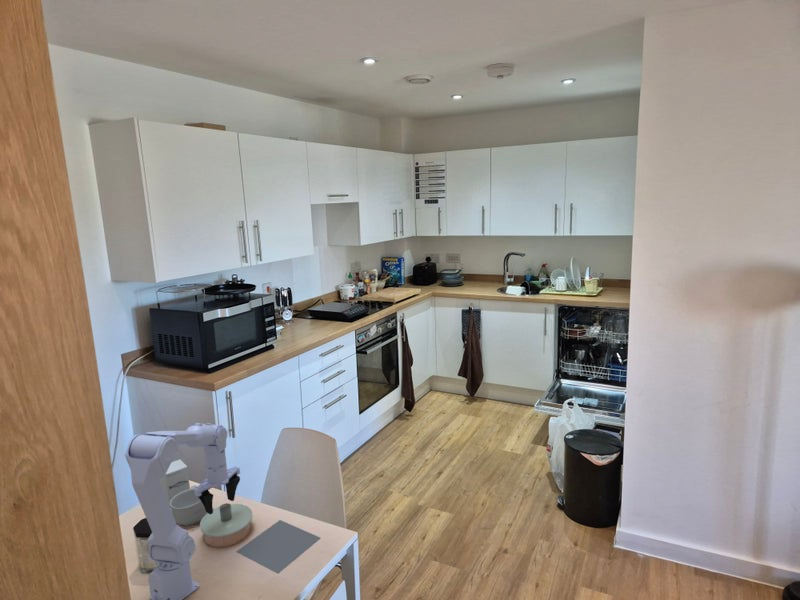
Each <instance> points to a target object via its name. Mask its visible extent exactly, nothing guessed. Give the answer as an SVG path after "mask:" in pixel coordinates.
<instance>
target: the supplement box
mask: <svg viewBox="0 0 800 600" xmlns="http://www.w3.org/2000/svg"><path fill="white" fill-rule="evenodd" d="M159 480H160V483H161V485H162V488H163V491H164V493H165V496H166V498H167V501H168V503H169V506H170V501H171V499H172V498H173V497H174V496H175V495H177V494H178V493H180V492H182V491H185V490H188V489H191V486H190V478H189V470H188V466H187V464H186V463H185V462H184V461H183V460H182V459H177V460H174V461H172V462H171V464H170V466H169V468H168V470H167V472H166V474H165V476H163V477H162V478H160V479H159ZM170 508H171V507H170Z"/></svg>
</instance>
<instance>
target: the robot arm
mask: <svg viewBox="0 0 800 600" xmlns="http://www.w3.org/2000/svg"><path fill="white" fill-rule="evenodd" d="M227 438H228V430H227V428H226V427H225V426H224V425H222V424H221V425H220V424H212V423H210V422H209V423H208V422H207V423H202V422H201V423H200V422H194V425H191V426H189V427H188V428H186V430H159V431H148V432H144V434H143V433H138V434H135V435H134V436H133V437H132V438H131V439H130V440H129V442H128V445H127V448H126V451H125V454H124V457H125V460H126V462H127V464H128V467H129V469H130V475H131V477H130V478H131V483H132V488H133V490H134V492H135V494H136V497H137V499H138V502H139V504H140V506H141V509H142V512H143V514H144V516H145V519H146V521H147V523H148V526H149V528H150V530H151V534H150V536H148V539H147V541H146V543H147V545H148V556H149V558H150V560H153V561H154V562H155V565H157V566H156V567H155V568H154V569H153V570H152V571H151V572H150V573H149V574H148V579H147V580H148V586H149V593H150V596H149V600H184V599H185V598H186V597H188V596H189V595H191V594H192V593H193V592H195V591H196V590H198V589H199V588H200V583H198V582H196V581H195V580H193V579H192V571H191V562H190V560H191V559H192V557H193V555H194V552H195V549H196V543H195V539H194V537H192V536H190V534H189V532H188V531H187V530H186V529H184V528H183V527H181V526H179V524H178V523H177V522H176V521H175V519H174V516H173V513H172V511H171V508H170V506H169V503H168V501H167V498H166V496H165V493H164V491H163V488H162V485H161V483H160V478H162V477H163V476H165V474H166V472H167V470H168V468H169V466H170V464H171V462H173V460H174V457H175V456H176V453H177V452H178V451H179V446H180V445H184V444H185V445H186V446H188V447H190V448H198V447H199V448H200V447H203V456H204V465H205V466H204V467H205V473H206V474H205V475H206V478H205V479H204V480H203V481H202V482H201V483H200V484H199V485H196V488H194V495H196V496H198V498H199V499H200V500H201V502H202V503H203V505H204V507H205V510H206V514H207V513H208V514H212V513H213V509H214V508H213V499H214V494H213V493H211V491H209V490H211V489H212V488H215V487H218V486H221V485H222V486H225V489H226V497H227V500H228V501H231V502H234V501H235V496H236V491H237V488H238V485H239V483H240V481H241V477H240V476H239V475H241V471H240V467H238V466H236V465H235V466H233V467H230V468H228V466H227V458H226V450H225V449H226V447H227Z"/></svg>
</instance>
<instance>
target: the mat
mask: <svg viewBox="0 0 800 600" xmlns="http://www.w3.org/2000/svg"><path fill="white" fill-rule="evenodd" d="M319 540H321V537H320V536H318V535H316V534H313V533H311V532H308V531H306V530H304V529H302V528H300V527H297V526H295V525H294V524H293V525H292V524H291V523H288V522H286V521H283V520H281V519H280V520H277V522H275V523H273V524H272V525H271V526H269V527H268V528H267V529H265V530H264V531H262V532H261V533H259V534H258V535H257V536H255V537H254V538H253V539H252V540H250V541H249V542H247V543H246V544H245V545H243V546H241V547H240V548H239V549H237V550H235V551H236V552H235V553H238V554H239V555H242V556H243V557H244V558H247V559H249V560H251V561H252V562H255V563H256V564H259V565H260V566H263V567H265V568H266V569H268V570H270V571H272V572H274V573H276V574H280V573H281V572H282V571H283V570H284V569H286V568H287V567H288V566H289V565H290V564H291V563H293V562H294V561H295V560H297V558H299V557H300V556H301V555H303V554H304V553H305V552H307V551H308V549H310V548H311V547H312V546H313V545H315V544H316V543H317V542H318V541H319Z"/></svg>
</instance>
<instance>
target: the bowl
mask: <svg viewBox="0 0 800 600" xmlns="http://www.w3.org/2000/svg"><path fill="white" fill-rule="evenodd" d="M250 530H251V522H250V523H249V524H248V525H247V526H246V527H245V528H244V529H242V530H241V531H239V532H237V533H234V534H232V535H228V536H223V537H211V536H207V535H205V534H203V539H204V542H205V544H207V545H209V546H211V547H215V548H216V547H217V548H220V547H228V546H231V545H234V544H237V543H239V542H240V541H242V540H243V539H244V538H246V537H247V535H248V534H249V532H250Z"/></svg>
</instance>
